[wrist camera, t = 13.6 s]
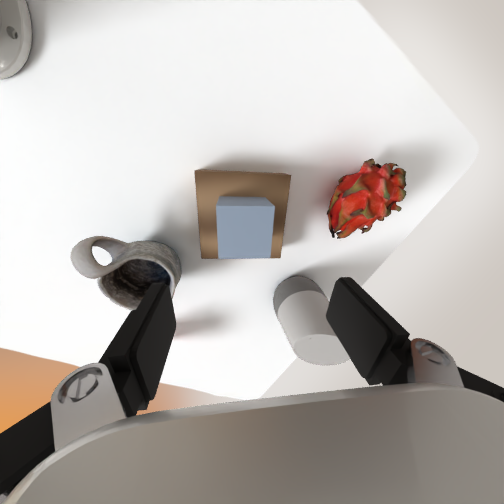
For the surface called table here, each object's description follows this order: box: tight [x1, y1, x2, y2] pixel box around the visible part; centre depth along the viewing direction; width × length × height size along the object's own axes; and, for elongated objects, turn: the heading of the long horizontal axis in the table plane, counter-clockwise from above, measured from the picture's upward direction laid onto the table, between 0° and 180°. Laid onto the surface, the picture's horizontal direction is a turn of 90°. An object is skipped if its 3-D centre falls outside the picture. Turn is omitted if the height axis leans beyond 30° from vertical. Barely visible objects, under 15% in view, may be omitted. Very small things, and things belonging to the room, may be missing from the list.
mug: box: [71, 236, 181, 310], centre depth 26 cm, size 10×12×10 cm
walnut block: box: [195, 170, 291, 259], centre depth 27 cm, size 12×12×4 cm
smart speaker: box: [273, 276, 350, 365], centre depth 30 cm, size 10×9×14 cm
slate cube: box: [216, 196, 275, 259], centre depth 23 cm, size 6×6×6 cm
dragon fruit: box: [327, 159, 406, 239], centre depth 26 cm, size 8×8×12 cm
